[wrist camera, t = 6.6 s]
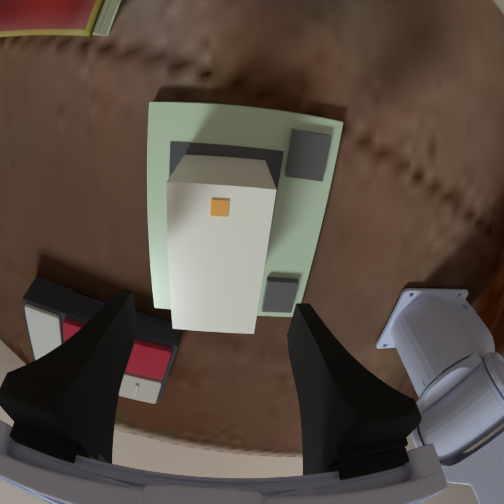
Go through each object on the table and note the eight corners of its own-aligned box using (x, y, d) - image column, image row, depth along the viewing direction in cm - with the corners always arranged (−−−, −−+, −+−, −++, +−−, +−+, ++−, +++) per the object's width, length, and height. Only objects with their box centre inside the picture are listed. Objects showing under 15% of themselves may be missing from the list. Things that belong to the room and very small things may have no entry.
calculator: (159, 408, 29) (33, 371, 25) (162, 378, 33) (44, 344, 28) (178, 352, 24) (17, 303, 20) (181, 316, 28) (36, 273, 23)
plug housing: (265, 160, 18) (276, 190, 14) (249, 280, 23) (253, 334, 18) (184, 154, 18) (166, 182, 13) (183, 276, 23) (172, 329, 18)
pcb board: (338, 120, 18) (361, 130, 15) (295, 309, 26) (303, 343, 23) (153, 101, 17) (133, 106, 13) (156, 300, 25) (146, 334, 22)
